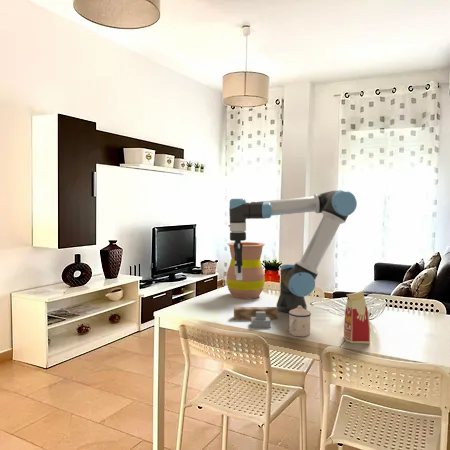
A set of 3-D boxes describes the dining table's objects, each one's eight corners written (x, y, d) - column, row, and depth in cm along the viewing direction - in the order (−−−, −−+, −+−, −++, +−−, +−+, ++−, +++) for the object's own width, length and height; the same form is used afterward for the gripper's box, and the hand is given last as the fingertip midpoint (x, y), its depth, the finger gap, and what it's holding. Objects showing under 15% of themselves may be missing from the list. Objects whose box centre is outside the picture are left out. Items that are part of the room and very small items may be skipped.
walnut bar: (275, 317, 205) (276, 307, 205) (277, 319, 201) (277, 309, 201) (233, 317, 204) (233, 307, 203) (234, 320, 200) (234, 309, 199)
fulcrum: (268, 323, 193) (268, 310, 193) (270, 327, 187) (270, 314, 187) (250, 323, 193) (251, 310, 193) (252, 327, 187) (252, 314, 187)
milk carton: (363, 336, 177) (364, 287, 176) (371, 343, 168) (372, 292, 167) (341, 336, 177) (342, 287, 176) (348, 343, 168) (349, 292, 167)
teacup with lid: (295, 328, 186) (296, 302, 186) (314, 333, 180) (315, 305, 180) (280, 335, 177) (280, 307, 176) (299, 340, 171) (300, 311, 171)
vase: (221, 292, 255) (222, 242, 253) (256, 290, 262) (256, 241, 260) (233, 301, 234) (233, 246, 232) (270, 299, 241) (271, 245, 239)
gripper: (228, 229, 213) (229, 272, 214) (230, 234, 188) (231, 282, 189) (244, 229, 213) (244, 272, 214) (248, 234, 188) (248, 282, 189)
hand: (238, 277), depth 202 cm, fingers open, 13 cm apart
